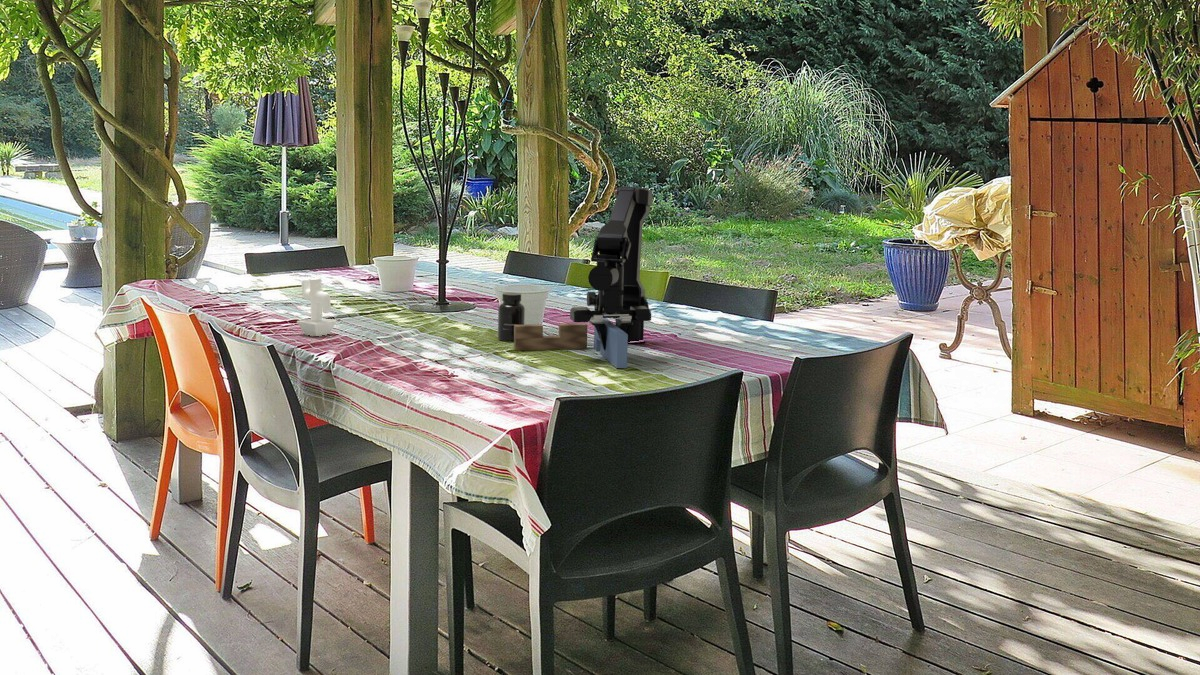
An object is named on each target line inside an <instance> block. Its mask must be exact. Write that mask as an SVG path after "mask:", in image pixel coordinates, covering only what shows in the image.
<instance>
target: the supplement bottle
mask: <svg viewBox="0 0 1200 675" xmlns="http://www.w3.org/2000/svg"><path fill="white" fill-rule="evenodd" d="M501 301H502V303H501V304H499V306H498V307H497V308H498V310H497V311H498V312H497V313H498V314H497V316H498V317H497V338H498V340H499V341H502V342H507V343H509V342H513V343H514V325H525V319H526V318H525V315H526V313H525V312H526V309H525V306H524V305H523V304H522V303H521V302H522V293H519V292H503V293H502V298H501Z"/></svg>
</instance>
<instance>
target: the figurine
mask: <svg viewBox="0 0 1200 675" xmlns="http://www.w3.org/2000/svg"><path fill="white" fill-rule="evenodd" d="M323 288H324V286H323V283H322V278H321V277H319V276H316V277H311V278H302V279H301V296H302V299H304V300H306V301H310V317H311V318H308V319H301V320H297V321H296V323H297V324H298V325H299V328H300V329H301V331H302V332H303V333H304V335H305V336H308V335H310V337H313V336H319V337H323V336H322V335H325V336H328V335H327V334H331V333H332V331H333V329H334V327H335V325H336V323H337V322H338V320H334V319H329V318H323V314H330V313H331V310H332V308H331V307H332V306H331V296H330V293H328V292H326V291H323V290H322V289H323Z"/></svg>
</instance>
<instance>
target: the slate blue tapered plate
mask: <svg viewBox="0 0 1200 675" xmlns="http://www.w3.org/2000/svg"><path fill="white" fill-rule="evenodd" d="M603 322H604V323H605V328H606V350H603V348H602V345H601V341H600V338H599V335H598V332H597V330H596V328H595V326H594V325H593V327H594V329H593V330H594V331H593V349H594V350H595V349H596V350H595V351H600V352H599V353H600V355H601V356H602V357H603V358H604V359H605V360H606V359H607V360H608V361H607V360H606V361H607V362H609V364H611V366H613V365H614V366H615V367H616V368H627V369H628V348H629V347H628V346H629V344H628V334H627V333H625V332H624V331H623V330H621V329H620V328H619V327H617V326H616V325H615V324H616V323H613V322H612V321H610V320H609V318H603ZM614 366H613V367H614ZM615 367H614V368H615ZM616 368H615V369H616Z"/></svg>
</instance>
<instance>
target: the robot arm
mask: <svg viewBox="0 0 1200 675" xmlns="http://www.w3.org/2000/svg"><path fill="white" fill-rule="evenodd" d="M653 196H654V195H653V191H652V192H651V191H650V190H649V188H648V187H636V186H620V187H617V189H616V197H615V203H614V205H613V208H612V211H611V214H610V218H609V220H608V222H607V223H606V224H603V225H602V226H601V227H600V229H599V231H598V233H597V235H596V236H595V238H594V242H593V248H592V253H591V258H590V261H591V262H592V263H593V262H595V263H596V266H594V267H592V268H591V269H590V271H589V273H588V277H587V278H588V279H587V280H588V284H589V285H590V286H591V287H592V288H593V290H597V293H596V291H588V292H586V305H587V306H577V307H576V306H574V307H573V306H572V307H571V309H570V311H569V319H570V320H571V321H572V322H573V323H589V324H590V325H591V326H593V327H594V326H595V328H596V330H597V332H598V335H599V338H600V341H601V345H602V348H603V350H606V328H605V323H604V322H603V318H607V319H615V323H614V324H615V325H616V326H617V327H619V328H620V329H621V330H623V331H624V332H625V333H627V334H628V342H630V341H639V340H644V329H645V328H644V327H645V322H650V321H652V311H651V309H650V305H649V302H648V300H647V296H646V291H645V288H644V286H643V284H642V282H641V280H640V279H641V278H640V276H641V261H642V260H641V258H642V243H643V241H642V240H643V225H644V224H643V223H645V221H646V219H647V218H648V217H649V214H650V211H651V207H652V206H653V199H654V197H653ZM588 307H594V310H592V309H590V308H588Z"/></svg>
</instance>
